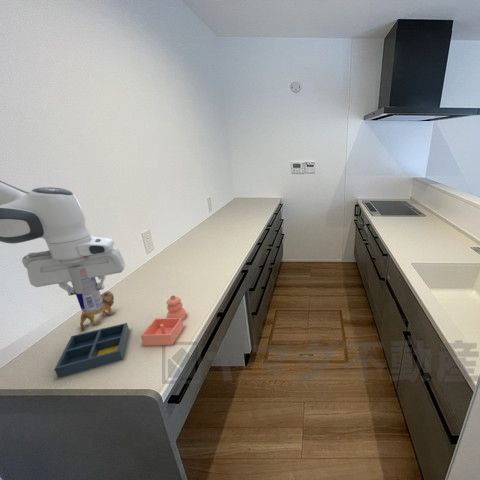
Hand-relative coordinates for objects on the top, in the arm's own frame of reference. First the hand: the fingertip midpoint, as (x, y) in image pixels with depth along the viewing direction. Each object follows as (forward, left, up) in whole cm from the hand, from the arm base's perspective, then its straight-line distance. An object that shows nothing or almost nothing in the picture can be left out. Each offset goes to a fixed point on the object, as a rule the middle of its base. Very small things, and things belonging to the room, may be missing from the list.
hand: (87, 291), depth 76 cm
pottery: (+17, +6, -24) cm, 30 cm away
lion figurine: (-7, +24, -24) cm, 35 cm away
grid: (-4, +3, -24) cm, 24 cm away
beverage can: (0, 0, -6) cm, 6 cm away
